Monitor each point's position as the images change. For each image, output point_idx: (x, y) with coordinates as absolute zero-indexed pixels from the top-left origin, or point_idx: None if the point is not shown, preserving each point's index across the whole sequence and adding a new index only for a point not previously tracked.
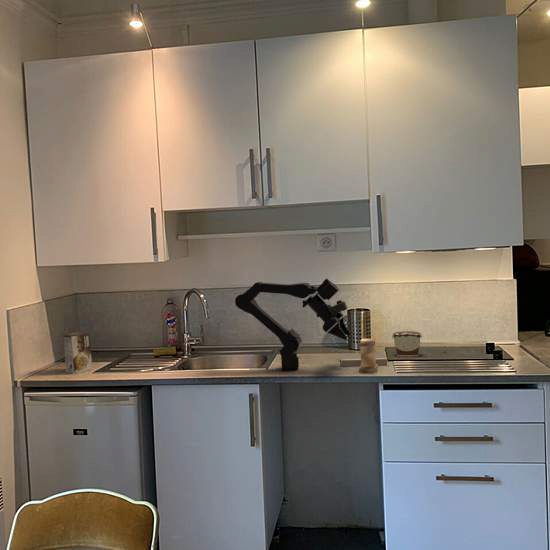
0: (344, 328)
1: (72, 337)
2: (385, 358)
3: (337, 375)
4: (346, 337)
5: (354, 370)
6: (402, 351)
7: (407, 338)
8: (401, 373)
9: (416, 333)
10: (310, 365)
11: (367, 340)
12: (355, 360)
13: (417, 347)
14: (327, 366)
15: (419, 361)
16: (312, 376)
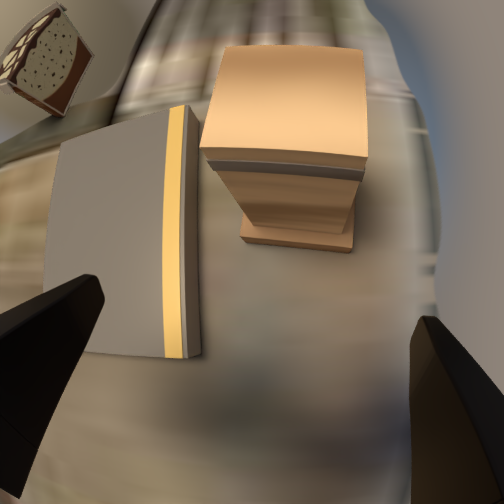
0: (26, 353)
1: None
2: (176, 111)
3: None
4: (445, 330)
5: (300, 281)
6: (62, 88)
7: (42, 45)
8: None
9: (30, 26)
10: (166, 496)
11: (324, 90)
12: (185, 270)
13: (76, 40)
14: (188, 428)
15: (157, 38)
16: (409, 486)
